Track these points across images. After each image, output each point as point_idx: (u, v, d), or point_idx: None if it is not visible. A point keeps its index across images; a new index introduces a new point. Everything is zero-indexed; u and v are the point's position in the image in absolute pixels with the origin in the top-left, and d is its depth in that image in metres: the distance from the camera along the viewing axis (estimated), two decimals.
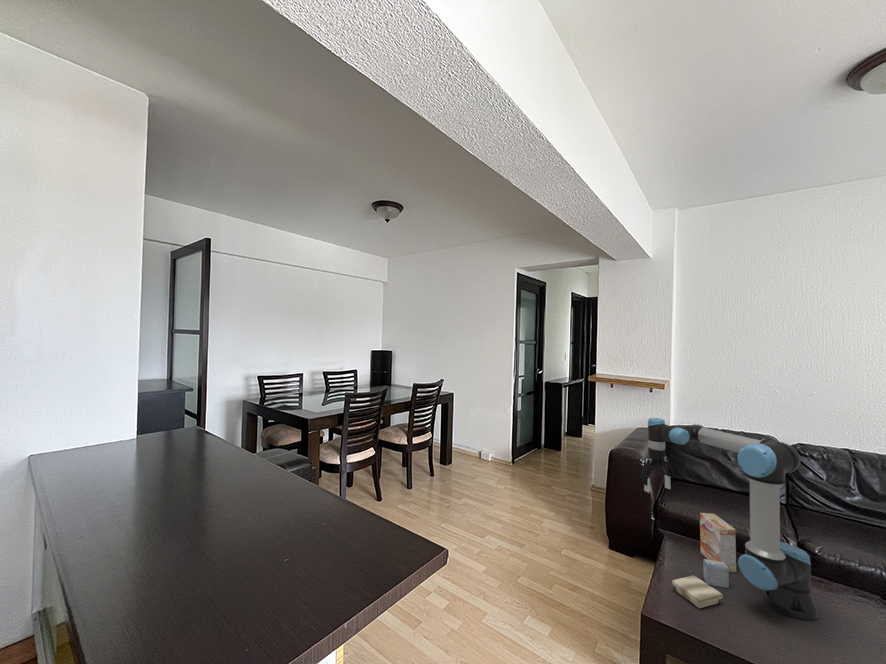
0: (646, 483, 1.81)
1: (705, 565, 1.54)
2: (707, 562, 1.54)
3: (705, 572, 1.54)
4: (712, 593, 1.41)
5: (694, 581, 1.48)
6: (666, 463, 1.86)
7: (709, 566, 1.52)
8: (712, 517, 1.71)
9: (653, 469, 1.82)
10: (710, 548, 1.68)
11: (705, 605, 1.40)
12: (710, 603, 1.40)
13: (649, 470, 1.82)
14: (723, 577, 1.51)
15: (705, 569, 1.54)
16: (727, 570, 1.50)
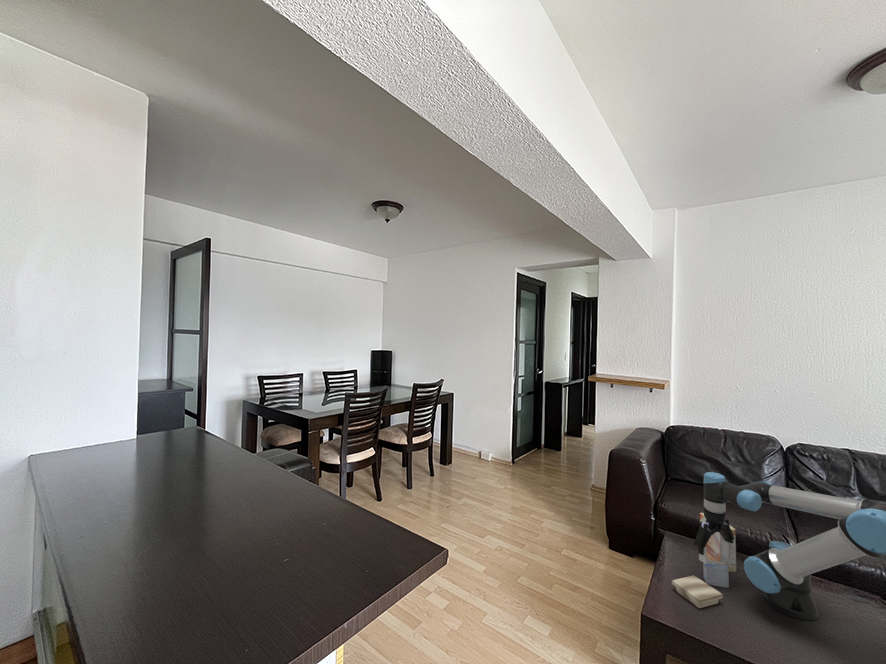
0: (702, 552, 1.51)
1: (705, 565, 1.54)
2: (707, 562, 1.54)
3: (705, 572, 1.54)
4: (712, 593, 1.41)
5: (694, 581, 1.48)
6: (725, 526, 1.56)
7: (709, 566, 1.52)
8: None
9: None
10: (710, 548, 1.68)
11: (705, 605, 1.40)
12: (710, 603, 1.40)
13: (706, 536, 1.52)
14: (723, 577, 1.51)
15: (705, 569, 1.54)
16: (727, 570, 1.50)
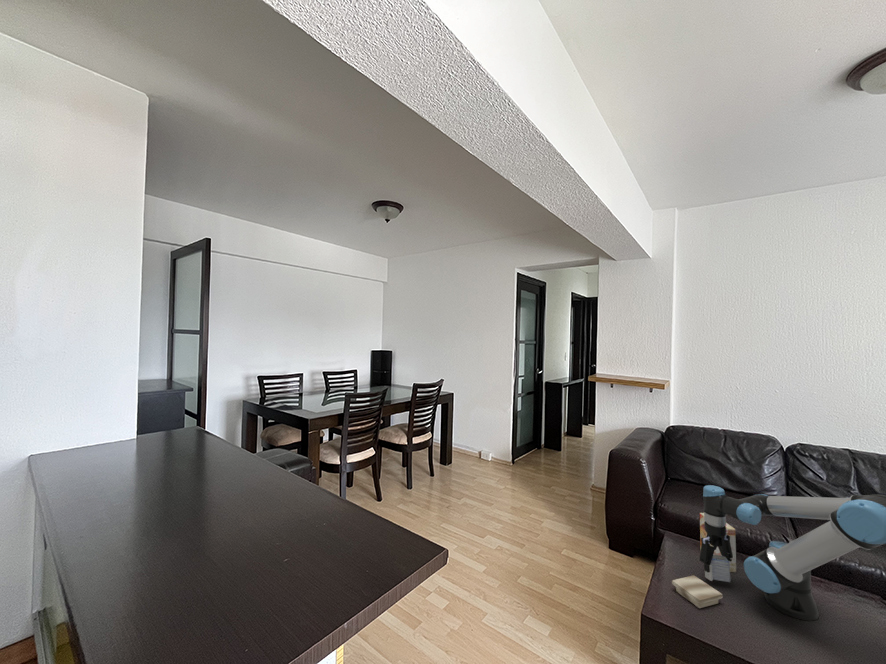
0: (708, 570, 1.51)
1: None
2: None
3: None
4: (712, 593, 1.41)
5: (694, 581, 1.48)
6: (725, 542, 1.55)
7: None
8: None
9: None
10: None
11: (705, 605, 1.40)
12: (710, 603, 1.40)
13: (709, 553, 1.51)
14: (724, 571, 1.50)
15: None
16: (728, 564, 1.50)
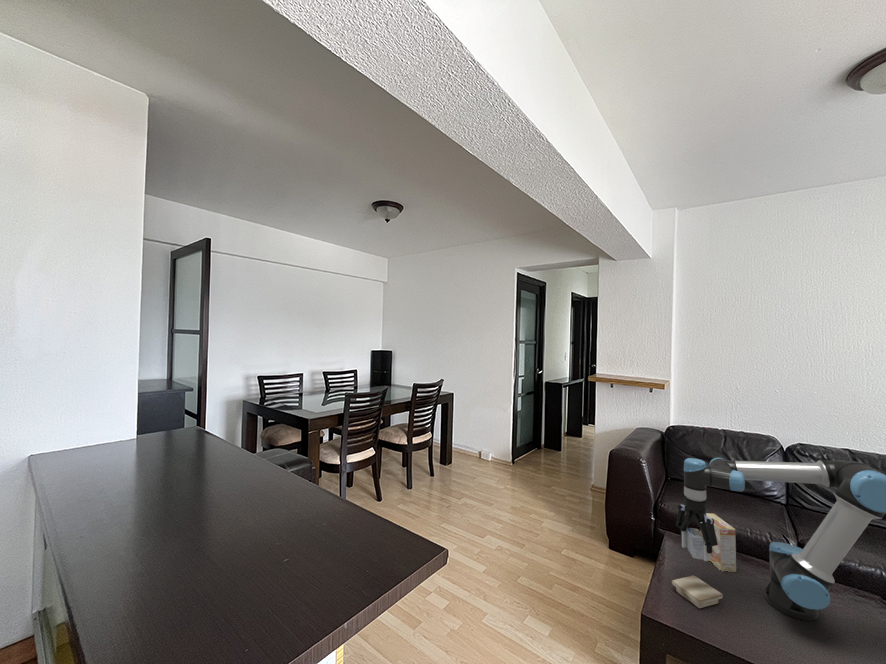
0: (681, 535, 1.51)
1: None
2: (691, 528, 1.49)
3: None
4: (712, 593, 1.41)
5: (694, 581, 1.48)
6: None
7: (687, 530, 1.49)
8: (712, 517, 1.71)
9: (687, 520, 1.48)
10: None
11: (705, 605, 1.40)
12: (710, 603, 1.40)
13: None
14: (691, 544, 1.44)
15: None
16: (691, 538, 1.43)
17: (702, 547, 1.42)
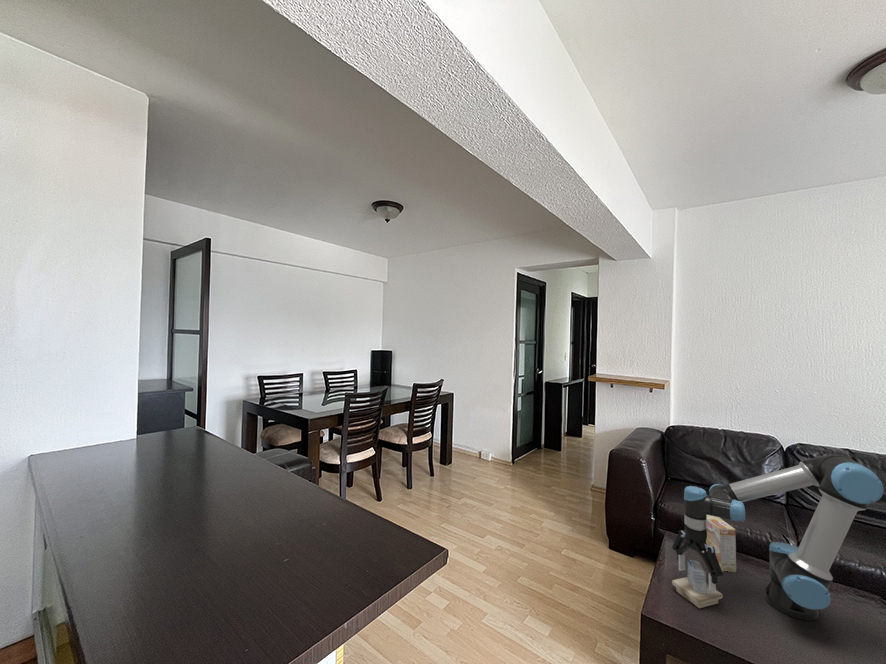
0: (678, 558, 1.52)
1: None
2: (692, 561, 1.48)
3: None
4: (712, 593, 1.41)
5: None
6: None
7: (687, 562, 1.49)
8: (712, 517, 1.71)
9: (685, 547, 1.48)
10: None
11: (705, 605, 1.40)
12: (710, 603, 1.40)
13: (682, 546, 1.50)
14: (692, 578, 1.44)
15: None
16: (692, 572, 1.43)
17: (703, 581, 1.41)
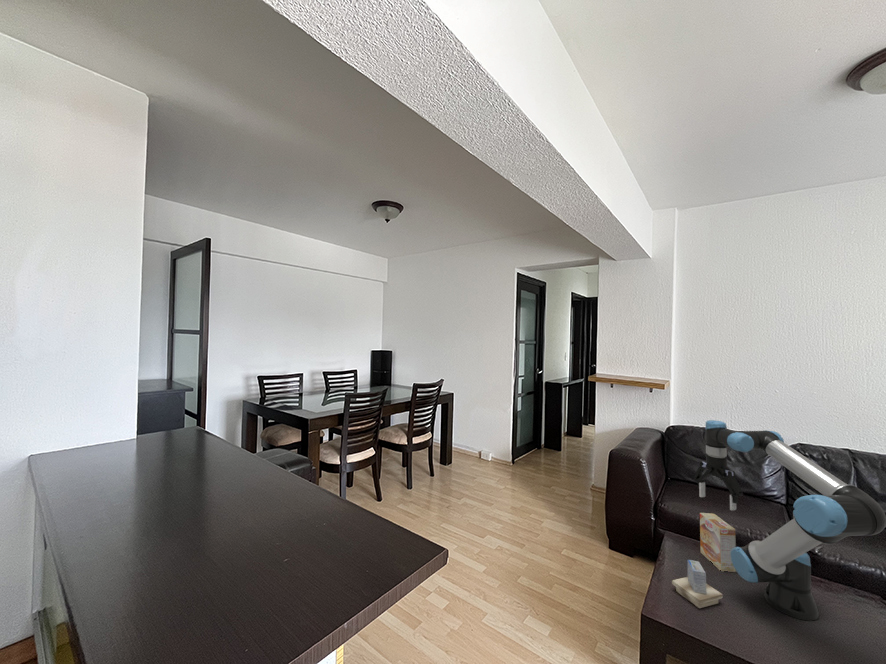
0: (699, 486, 1.67)
1: None
2: (692, 561, 1.48)
3: None
4: (712, 593, 1.41)
5: None
6: None
7: (687, 562, 1.49)
8: (712, 517, 1.71)
9: (706, 475, 1.63)
10: (710, 548, 1.68)
11: (705, 605, 1.40)
12: (710, 603, 1.40)
13: None
14: (692, 578, 1.44)
15: None
16: (692, 572, 1.43)
17: (703, 581, 1.41)
